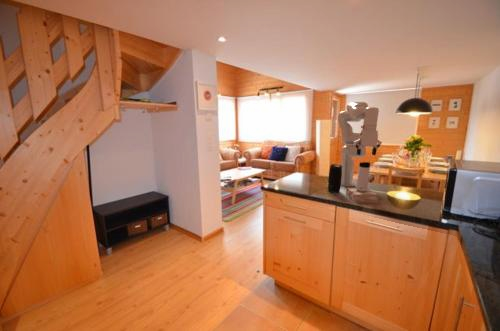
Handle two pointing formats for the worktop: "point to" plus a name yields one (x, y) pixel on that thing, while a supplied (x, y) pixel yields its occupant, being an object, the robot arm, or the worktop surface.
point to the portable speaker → (335, 178)
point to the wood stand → (361, 195)
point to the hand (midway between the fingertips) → (366, 154)
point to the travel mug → (363, 177)
